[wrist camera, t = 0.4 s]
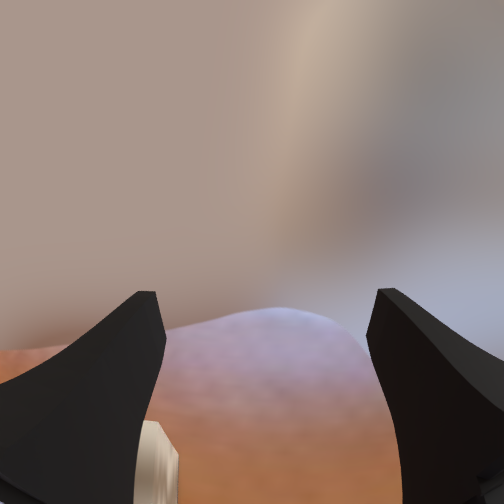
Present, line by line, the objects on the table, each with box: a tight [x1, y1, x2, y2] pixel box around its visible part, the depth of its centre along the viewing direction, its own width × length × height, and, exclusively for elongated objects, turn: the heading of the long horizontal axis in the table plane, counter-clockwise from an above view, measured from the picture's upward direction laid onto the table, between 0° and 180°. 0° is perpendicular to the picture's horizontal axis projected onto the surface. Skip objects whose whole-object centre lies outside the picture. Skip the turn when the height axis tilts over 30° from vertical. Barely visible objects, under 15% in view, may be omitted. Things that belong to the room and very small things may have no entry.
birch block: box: [134, 420, 179, 504], centre depth 14 cm, size 8×4×9 cm, turn 3°
